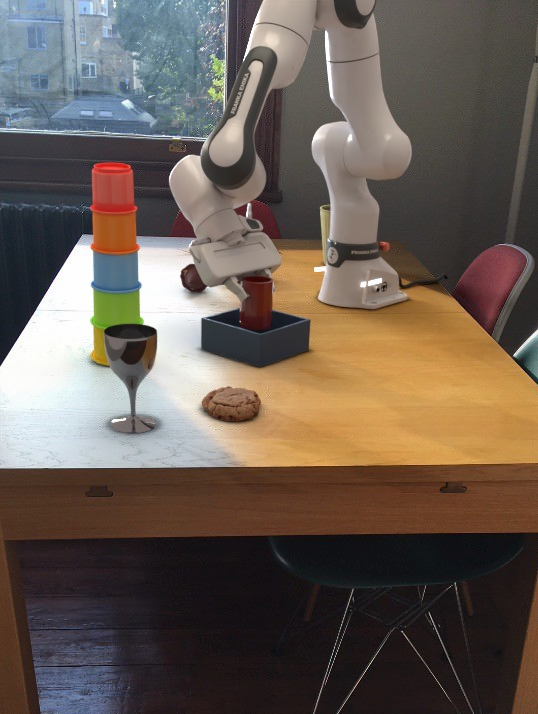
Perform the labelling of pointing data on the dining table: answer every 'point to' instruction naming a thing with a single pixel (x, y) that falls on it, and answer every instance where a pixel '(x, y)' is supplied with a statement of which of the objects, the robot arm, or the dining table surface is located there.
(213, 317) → the tote
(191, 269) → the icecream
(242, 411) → the cookie
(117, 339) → the metal goblet
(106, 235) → the stacking cups
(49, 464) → the dining table surface
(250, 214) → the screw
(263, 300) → the canister
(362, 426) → the dining table surface
